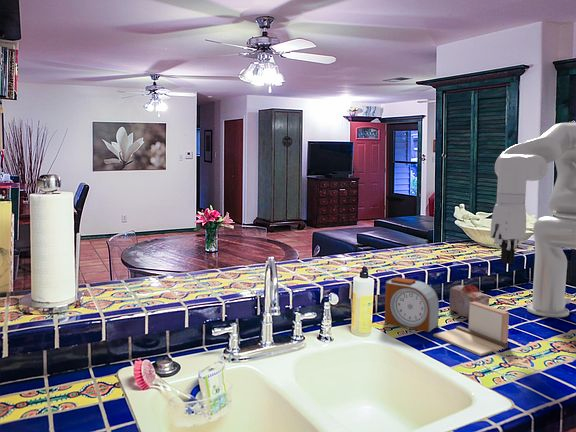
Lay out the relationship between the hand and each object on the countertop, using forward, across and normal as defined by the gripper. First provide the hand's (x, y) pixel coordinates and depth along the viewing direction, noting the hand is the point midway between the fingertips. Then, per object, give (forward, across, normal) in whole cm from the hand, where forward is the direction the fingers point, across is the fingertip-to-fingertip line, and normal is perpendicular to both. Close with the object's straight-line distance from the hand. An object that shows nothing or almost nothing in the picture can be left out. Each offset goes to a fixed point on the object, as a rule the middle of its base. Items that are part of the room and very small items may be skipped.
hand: (507, 262), depth 157 cm
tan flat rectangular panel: (+21, +15, 0) cm, 26 cm away
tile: (+21, +7, 0) cm, 22 cm away
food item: (+21, -4, -17) cm, 28 cm away
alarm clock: (+21, +18, -20) cm, 34 cm away
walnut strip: (+21, +10, 0) cm, 23 cm away
